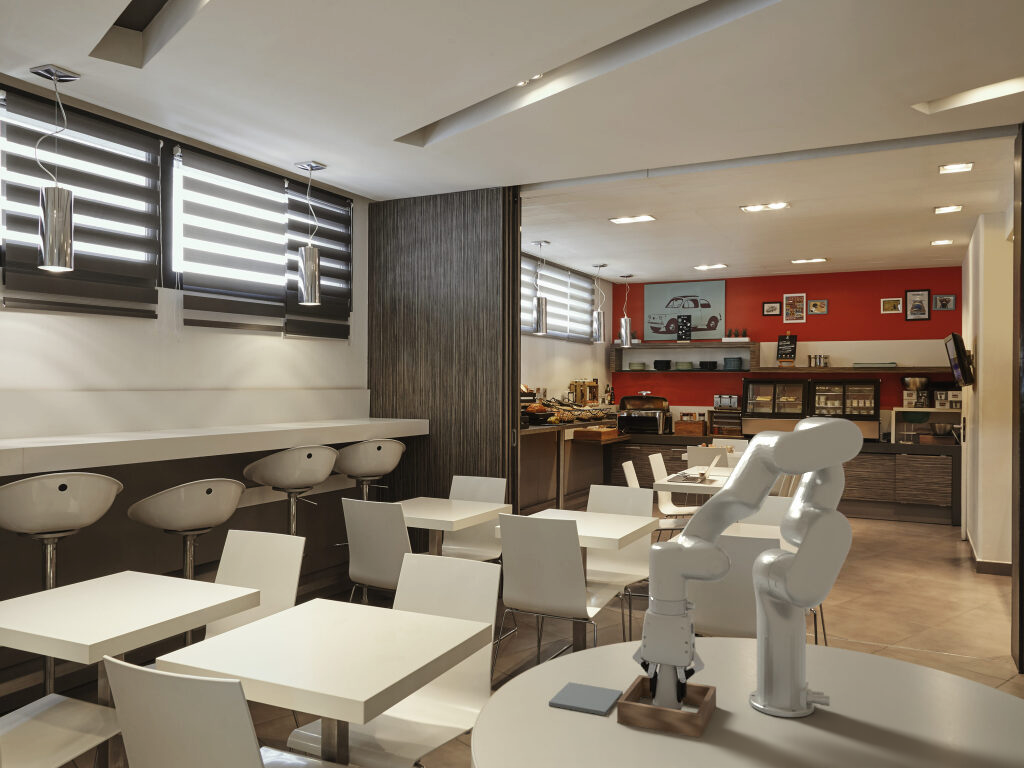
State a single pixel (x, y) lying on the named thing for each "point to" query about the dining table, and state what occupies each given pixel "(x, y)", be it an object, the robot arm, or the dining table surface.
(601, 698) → the mat
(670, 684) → the salt shaker
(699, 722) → the bin
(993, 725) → the dining table surface
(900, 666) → the dining table surface
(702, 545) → the robot arm
